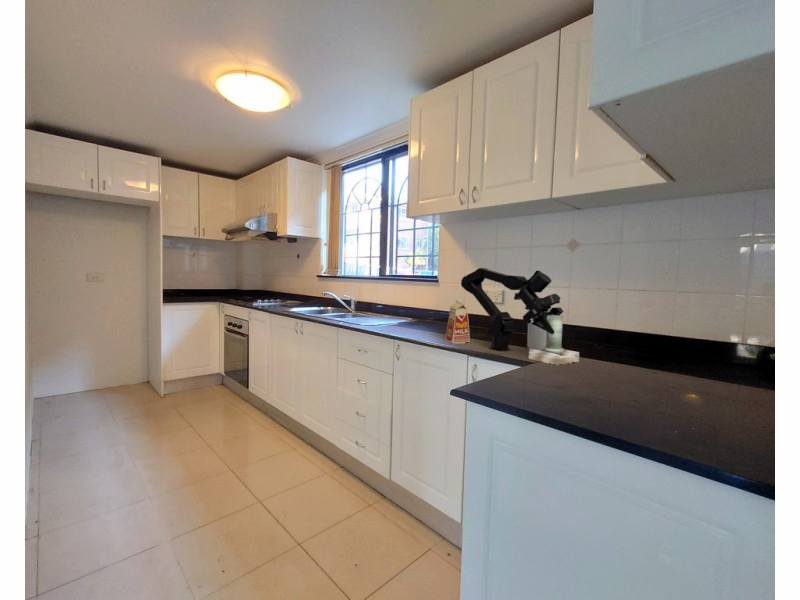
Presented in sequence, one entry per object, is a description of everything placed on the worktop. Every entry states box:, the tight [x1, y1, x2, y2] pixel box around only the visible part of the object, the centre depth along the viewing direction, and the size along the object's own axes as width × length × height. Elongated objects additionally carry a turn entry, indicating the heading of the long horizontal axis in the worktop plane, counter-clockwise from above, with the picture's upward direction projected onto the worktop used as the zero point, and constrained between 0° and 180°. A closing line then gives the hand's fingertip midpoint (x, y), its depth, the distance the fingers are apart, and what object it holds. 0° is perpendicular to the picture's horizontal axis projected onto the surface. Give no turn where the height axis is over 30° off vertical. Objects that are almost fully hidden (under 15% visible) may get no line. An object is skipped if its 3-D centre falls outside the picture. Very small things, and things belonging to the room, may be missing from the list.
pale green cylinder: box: [542, 315, 564, 353], centre depth 125 cm, size 7×7×13 cm
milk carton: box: [444, 299, 470, 344], centre depth 161 cm, size 9×9×20 cm
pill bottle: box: [526, 318, 547, 351], centre depth 147 cm, size 8×8×15 cm
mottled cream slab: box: [528, 349, 580, 366], centre depth 125 cm, size 12×12×4 cm
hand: (557, 332), depth 124 cm, fingers closed on pale green cylinder, 5 cm apart
